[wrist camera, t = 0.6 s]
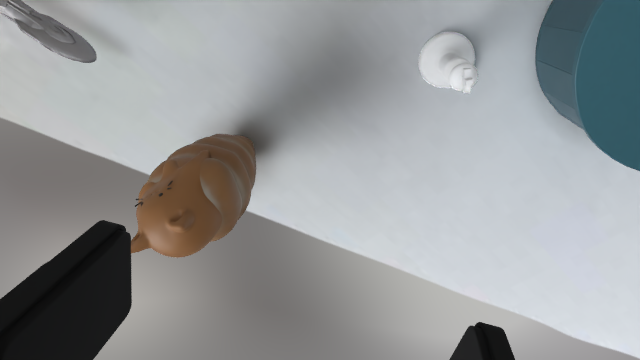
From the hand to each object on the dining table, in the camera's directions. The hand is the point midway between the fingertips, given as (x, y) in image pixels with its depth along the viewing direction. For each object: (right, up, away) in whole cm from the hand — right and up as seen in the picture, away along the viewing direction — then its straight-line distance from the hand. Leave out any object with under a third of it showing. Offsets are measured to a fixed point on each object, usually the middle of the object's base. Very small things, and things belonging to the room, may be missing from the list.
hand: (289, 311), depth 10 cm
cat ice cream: (-8, +7, +31) cm, 33 cm away
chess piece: (+12, +15, +24) cm, 31 cm away
